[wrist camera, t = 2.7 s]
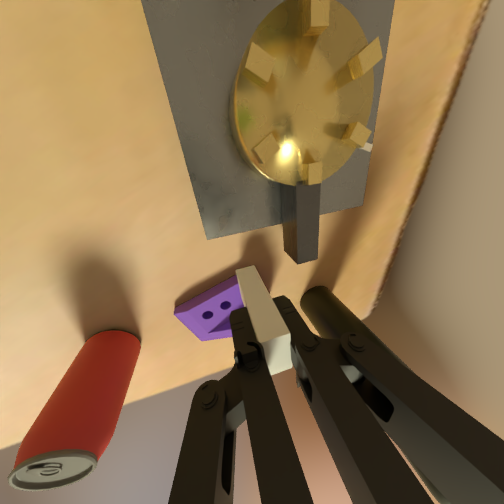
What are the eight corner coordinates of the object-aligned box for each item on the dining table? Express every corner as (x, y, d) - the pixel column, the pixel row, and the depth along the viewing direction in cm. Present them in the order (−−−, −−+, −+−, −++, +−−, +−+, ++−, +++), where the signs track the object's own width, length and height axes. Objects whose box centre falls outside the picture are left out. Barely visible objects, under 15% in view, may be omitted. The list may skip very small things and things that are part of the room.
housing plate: (132, -38, 12) (120, -75, 10) (380, -31, 15) (405, -58, 14) (206, 233, 21) (207, 240, 20) (351, 202, 25) (363, 205, 23)
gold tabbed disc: (215, 34, 13) (223, -24, 9) (348, 29, 15) (402, -21, 11) (251, 258, 22) (262, 279, 18) (331, 238, 24) (357, 253, 20)
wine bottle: (332, 302, 33) (833, 824, 7) (304, 316, 33) (711, 909, 7) (326, 280, 30) (1143, 1031, 4) (296, 296, 30) (945, 1187, 4)
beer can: (106, 319, 23) (29, 448, 13) (152, 339, 26) (120, 455, 16) (74, 350, 24) (-25, 496, 13) (122, 366, 27) (73, 493, 16)
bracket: (250, 265, 25) (265, 296, 19) (267, 296, 29) (285, 331, 23) (175, 306, 25) (167, 350, 19) (201, 332, 29) (201, 377, 23)
